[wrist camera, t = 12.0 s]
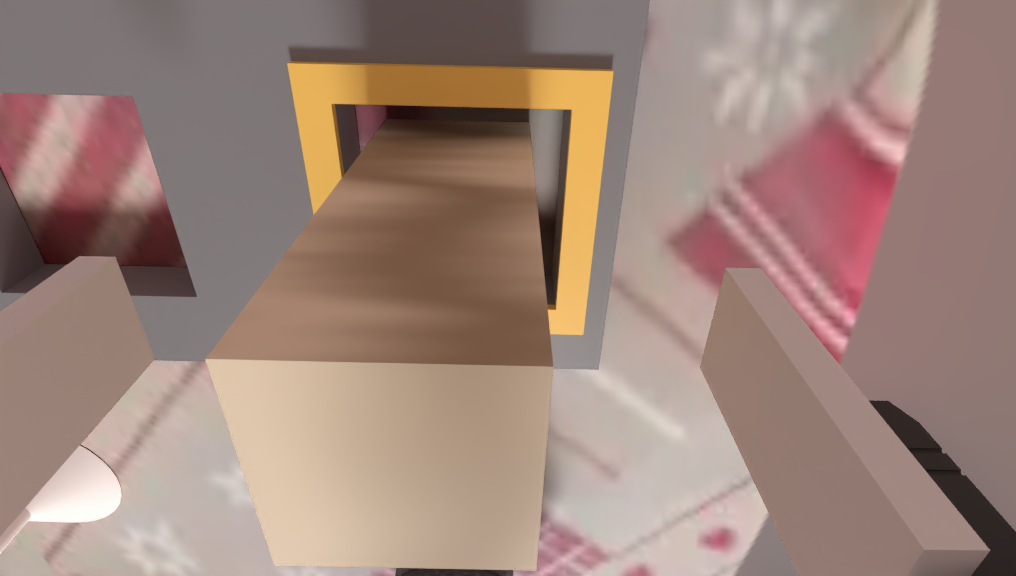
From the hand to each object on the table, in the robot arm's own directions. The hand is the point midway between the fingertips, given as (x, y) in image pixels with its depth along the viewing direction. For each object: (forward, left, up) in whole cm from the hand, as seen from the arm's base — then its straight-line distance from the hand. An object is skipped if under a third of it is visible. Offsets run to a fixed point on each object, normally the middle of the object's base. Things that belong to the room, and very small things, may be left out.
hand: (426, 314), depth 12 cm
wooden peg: (0, 0, -7) cm, 7 cm away
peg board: (-6, 0, -7) cm, 9 cm away
